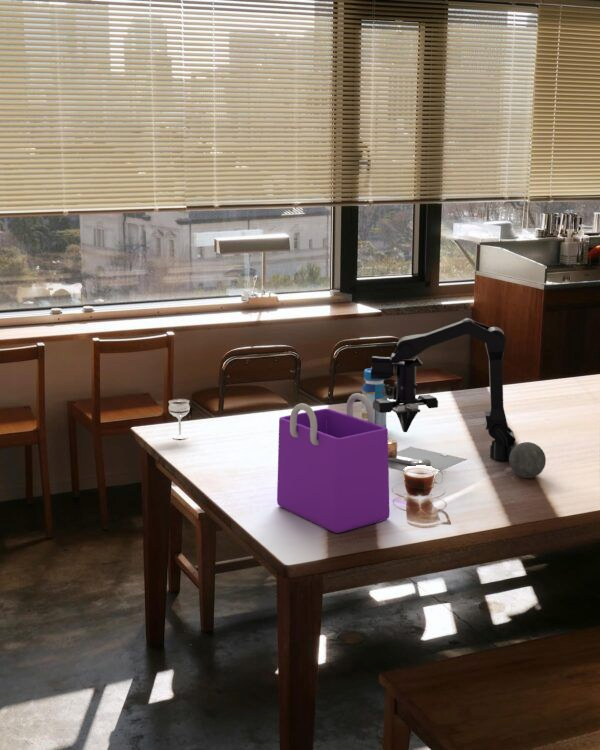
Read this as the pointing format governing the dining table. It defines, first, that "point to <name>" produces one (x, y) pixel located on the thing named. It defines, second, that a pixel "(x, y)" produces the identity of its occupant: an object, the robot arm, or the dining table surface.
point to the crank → (413, 462)
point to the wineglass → (179, 409)
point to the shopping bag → (333, 467)
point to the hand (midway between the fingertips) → (404, 431)
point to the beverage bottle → (373, 397)
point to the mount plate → (436, 459)
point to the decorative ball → (527, 460)
